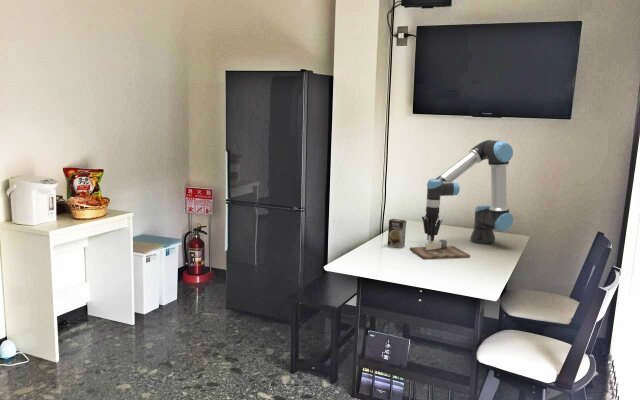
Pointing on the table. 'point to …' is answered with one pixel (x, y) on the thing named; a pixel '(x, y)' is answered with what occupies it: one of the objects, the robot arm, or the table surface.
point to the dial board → (439, 253)
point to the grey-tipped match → (437, 245)
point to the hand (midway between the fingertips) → (430, 246)
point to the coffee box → (396, 233)
